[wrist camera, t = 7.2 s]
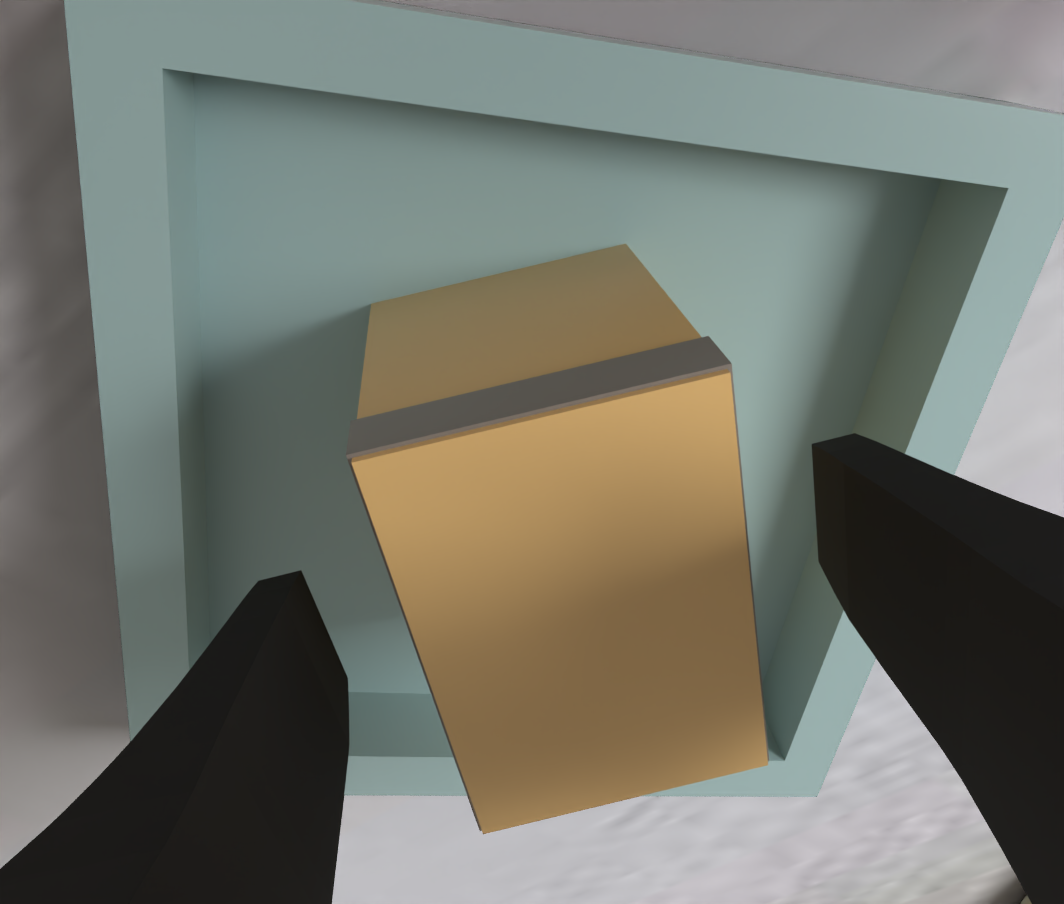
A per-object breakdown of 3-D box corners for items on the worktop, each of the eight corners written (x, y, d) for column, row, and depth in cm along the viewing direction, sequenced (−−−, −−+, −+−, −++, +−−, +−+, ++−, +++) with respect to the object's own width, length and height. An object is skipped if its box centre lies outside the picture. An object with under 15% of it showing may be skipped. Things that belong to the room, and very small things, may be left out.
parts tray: (1006, 101, 14) (1104, 122, 12) (777, 716, 20) (817, 796, 18) (119, -42, 11) (60, -46, 9) (165, 703, 17) (135, 794, 15)
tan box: (628, 239, 13) (734, 367, 9) (675, 555, 16) (771, 766, 12) (367, 301, 13) (344, 459, 9) (461, 606, 16) (479, 837, 12)
